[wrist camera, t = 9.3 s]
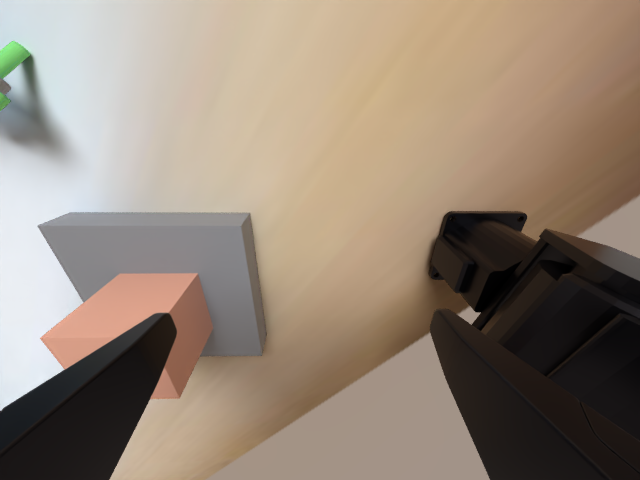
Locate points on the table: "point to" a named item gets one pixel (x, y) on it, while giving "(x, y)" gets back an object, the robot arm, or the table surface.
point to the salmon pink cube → (129, 310)
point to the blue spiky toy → (9, 67)
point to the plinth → (171, 263)
